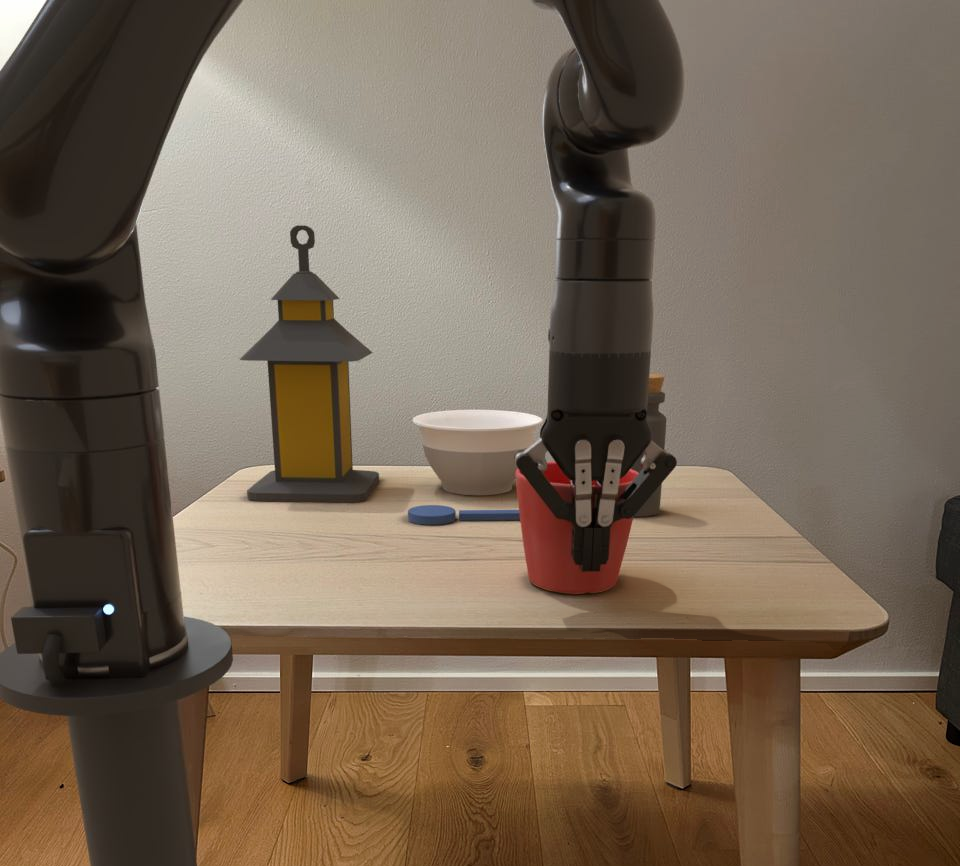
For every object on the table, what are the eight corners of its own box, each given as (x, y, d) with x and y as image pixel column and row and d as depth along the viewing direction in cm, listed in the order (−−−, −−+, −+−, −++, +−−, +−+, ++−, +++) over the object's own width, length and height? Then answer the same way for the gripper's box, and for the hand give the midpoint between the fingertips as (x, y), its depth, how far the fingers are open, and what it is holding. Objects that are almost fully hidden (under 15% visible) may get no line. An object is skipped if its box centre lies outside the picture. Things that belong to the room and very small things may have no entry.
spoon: (564, 512, 110) (564, 503, 109) (571, 523, 105) (571, 514, 104) (408, 513, 108) (407, 505, 108) (407, 525, 104) (407, 516, 103)
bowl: (467, 508, 111) (467, 432, 108) (388, 485, 123) (386, 416, 119) (567, 490, 120) (570, 420, 117) (485, 470, 132) (486, 406, 129)
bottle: (651, 519, 107) (662, 379, 101) (600, 513, 109) (608, 376, 104) (665, 508, 112) (675, 374, 106) (616, 503, 114) (624, 371, 109)
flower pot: (620, 562, 91) (626, 459, 87) (646, 600, 81) (654, 484, 77) (507, 564, 90) (509, 459, 87) (519, 602, 80) (522, 485, 77)
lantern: (273, 476, 127) (256, 227, 116) (380, 478, 126) (372, 228, 116) (244, 500, 114) (222, 222, 103) (363, 502, 113) (353, 223, 103)
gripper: (515, 349, 68) (511, 584, 74) (701, 349, 69) (682, 582, 75) (506, 341, 75) (503, 557, 81) (675, 341, 76) (659, 555, 82)
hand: (589, 568), depth 78 cm, fingers closed
